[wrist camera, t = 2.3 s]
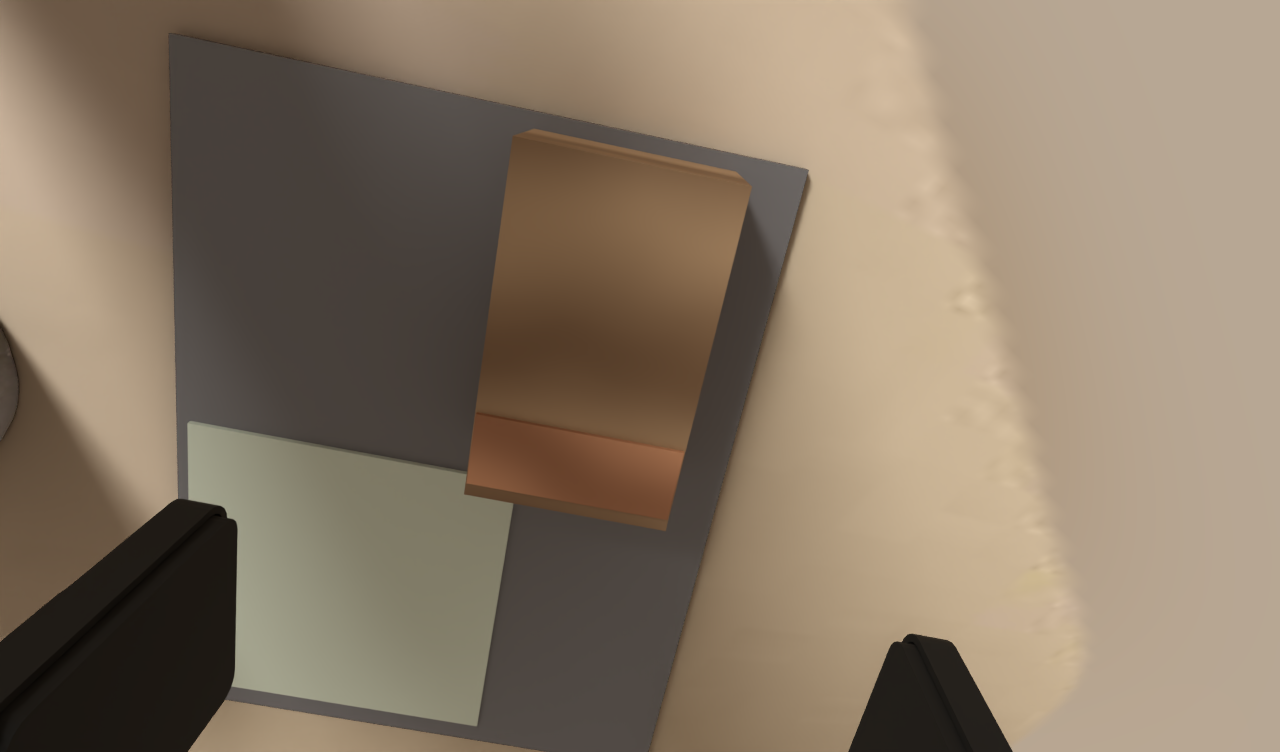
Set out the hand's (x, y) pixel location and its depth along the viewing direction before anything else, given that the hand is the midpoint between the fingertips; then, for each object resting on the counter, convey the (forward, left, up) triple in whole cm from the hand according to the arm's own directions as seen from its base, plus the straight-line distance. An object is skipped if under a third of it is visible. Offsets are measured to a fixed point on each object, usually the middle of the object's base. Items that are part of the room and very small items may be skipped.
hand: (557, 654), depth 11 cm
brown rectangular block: (0, 0, -16) cm, 16 cm away
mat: (+7, -5, -17) cm, 19 cm away
